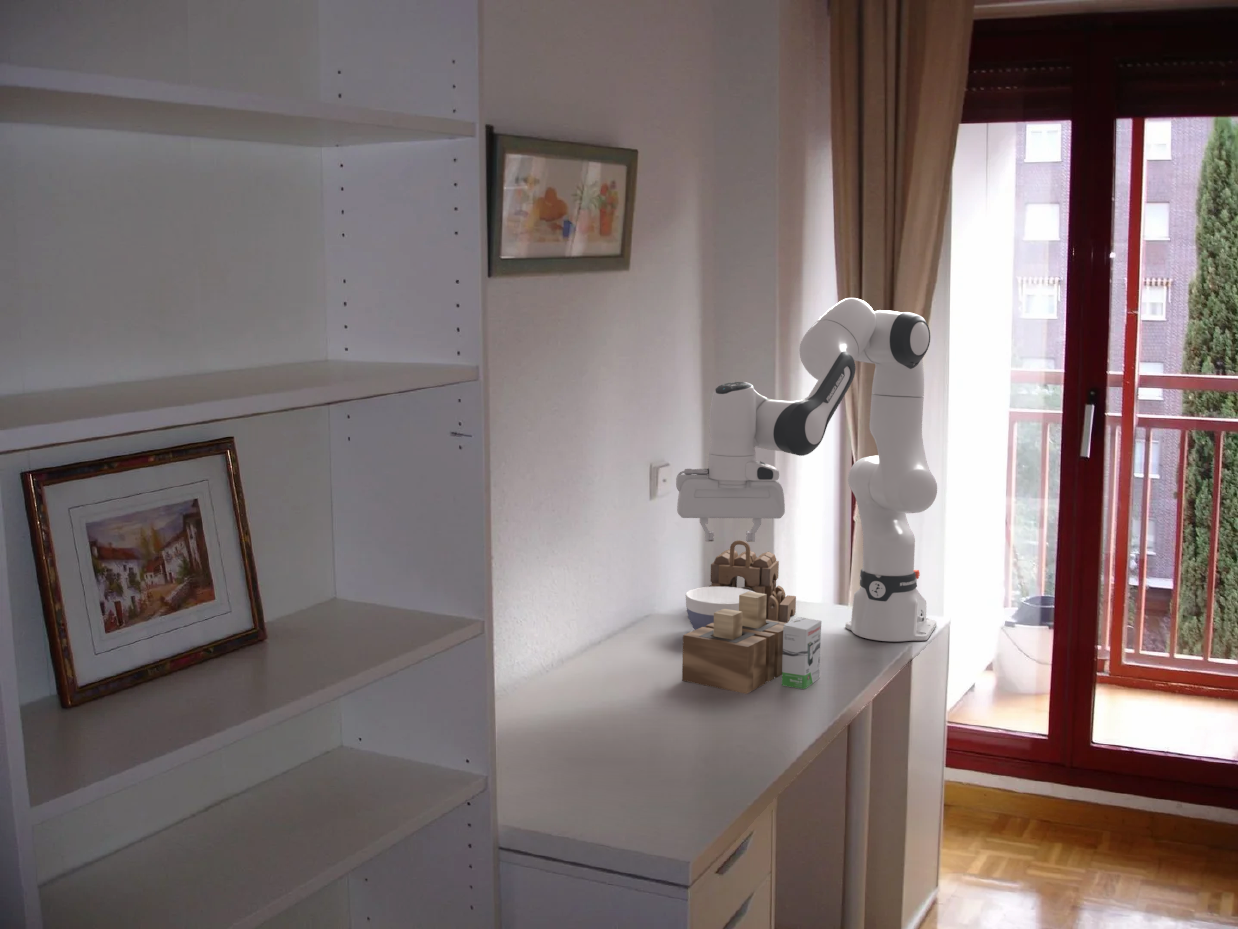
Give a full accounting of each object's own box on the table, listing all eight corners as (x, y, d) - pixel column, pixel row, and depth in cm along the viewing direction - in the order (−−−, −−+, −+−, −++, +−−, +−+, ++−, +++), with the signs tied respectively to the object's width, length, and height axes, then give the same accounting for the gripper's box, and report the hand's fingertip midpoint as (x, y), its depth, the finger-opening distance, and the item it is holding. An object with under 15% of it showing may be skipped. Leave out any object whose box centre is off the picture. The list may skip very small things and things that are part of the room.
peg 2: (747, 633, 246) (748, 591, 245) (765, 636, 244) (766, 594, 242) (738, 638, 242) (739, 595, 241) (756, 641, 240) (757, 598, 239)
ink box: (804, 690, 230) (806, 629, 229) (780, 686, 233) (781, 625, 231) (820, 678, 238) (822, 619, 236) (796, 674, 240) (798, 615, 239)
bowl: (700, 625, 277) (701, 583, 275) (767, 633, 270) (769, 591, 269) (673, 642, 262) (674, 598, 261) (744, 651, 256) (745, 606, 255)
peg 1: (723, 652, 238) (724, 608, 237) (741, 655, 235) (742, 611, 234) (713, 657, 234) (713, 612, 233) (731, 660, 232) (732, 616, 231)
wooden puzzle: (797, 611, 290) (799, 534, 288) (784, 626, 276) (787, 545, 274) (707, 603, 297) (708, 528, 295) (691, 618, 284) (692, 538, 281)
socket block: (732, 656, 252) (733, 613, 251) (794, 668, 244) (795, 624, 243) (682, 680, 235) (682, 634, 234) (746, 694, 228) (747, 646, 226)
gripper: (677, 470, 227) (676, 544, 229) (787, 471, 228) (785, 544, 229) (675, 466, 233) (673, 537, 235) (781, 467, 234) (779, 538, 236)
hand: (729, 541), depth 232 cm, fingers open, 6 cm apart
